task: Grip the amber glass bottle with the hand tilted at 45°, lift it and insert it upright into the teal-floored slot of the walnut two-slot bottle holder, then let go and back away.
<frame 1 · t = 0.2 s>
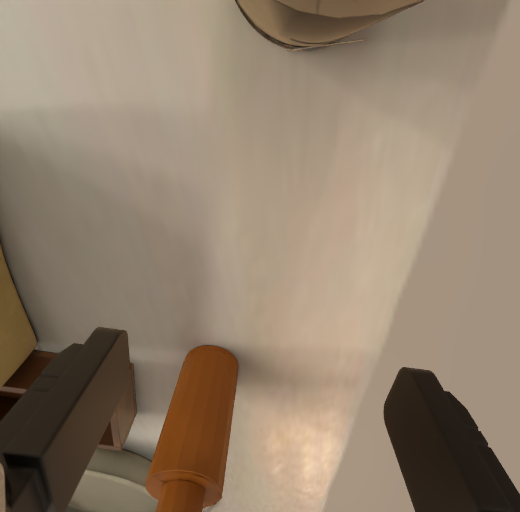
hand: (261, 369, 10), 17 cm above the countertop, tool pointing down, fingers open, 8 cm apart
bottle: (211, 364, 35), on the countertop
cake pan: (107, 480, 49), on the countertop
holder: (61, 379, 37), on the countertop
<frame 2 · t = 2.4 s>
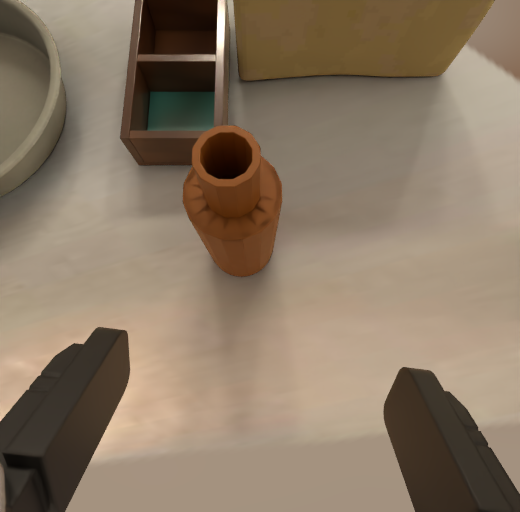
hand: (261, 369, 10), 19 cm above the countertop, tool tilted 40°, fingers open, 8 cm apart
bottle: (241, 246, 31), on the countertop
cheese: (341, 60, 36), on the countertop
holder: (186, 93, 35), on the countertop
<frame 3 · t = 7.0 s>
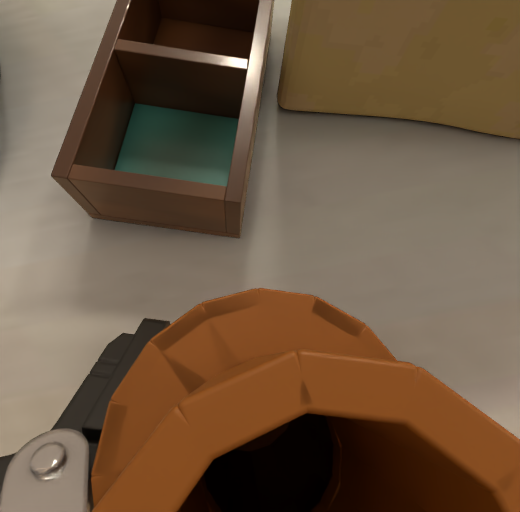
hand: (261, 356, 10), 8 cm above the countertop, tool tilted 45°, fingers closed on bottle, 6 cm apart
bottle: (246, 392, 17), on the countertop, touching gripper
cheese: (429, 102, 24), on the countertop
holder: (192, 114, 22), on the countertop
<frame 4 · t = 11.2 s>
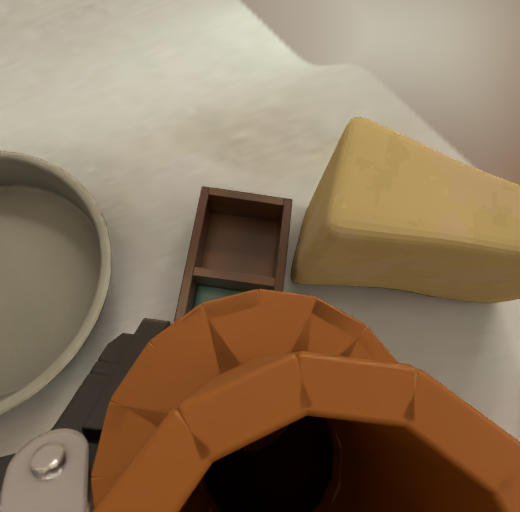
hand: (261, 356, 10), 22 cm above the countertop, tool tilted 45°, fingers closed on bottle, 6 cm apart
bottle: (246, 393, 17), point 14 cm above the countertop, touching gripper
cheese: (394, 269, 35), on the countertop
holder: (234, 287, 33), on the countertop
when the fingers open (9 cm above the countertop, at t = 15.9 s): bottle stays where it is, resting on holder.
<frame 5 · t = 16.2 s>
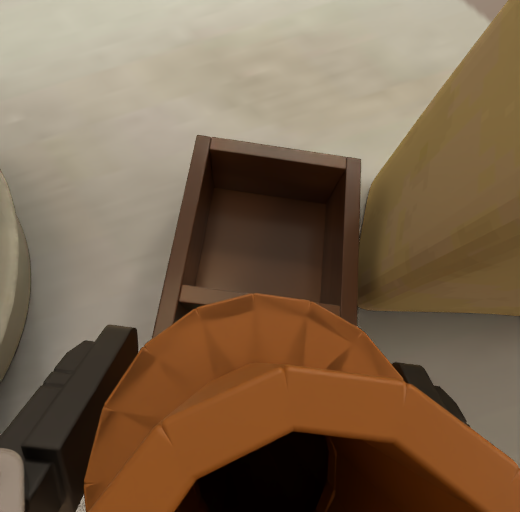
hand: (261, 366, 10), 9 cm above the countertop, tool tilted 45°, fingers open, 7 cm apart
bottle: (244, 394, 17), point 1 cm above the countertop, touching holder
holder: (254, 316, 19), on the countertop
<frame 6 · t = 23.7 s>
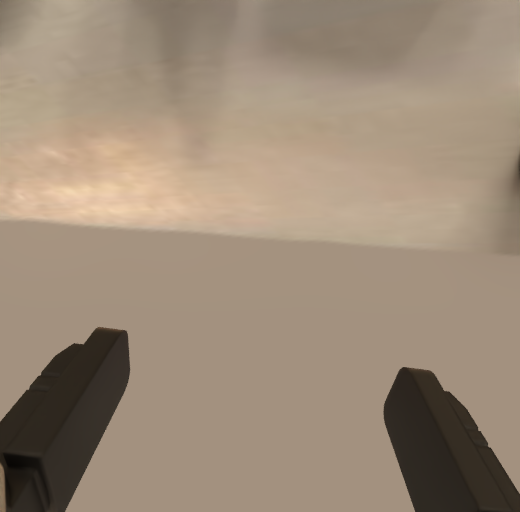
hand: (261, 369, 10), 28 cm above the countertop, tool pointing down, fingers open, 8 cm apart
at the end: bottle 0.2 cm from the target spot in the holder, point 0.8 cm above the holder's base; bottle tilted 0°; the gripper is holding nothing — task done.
